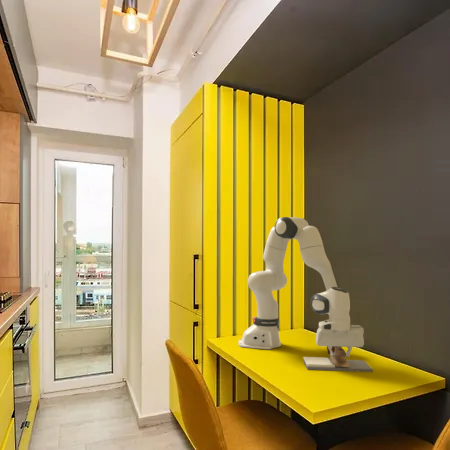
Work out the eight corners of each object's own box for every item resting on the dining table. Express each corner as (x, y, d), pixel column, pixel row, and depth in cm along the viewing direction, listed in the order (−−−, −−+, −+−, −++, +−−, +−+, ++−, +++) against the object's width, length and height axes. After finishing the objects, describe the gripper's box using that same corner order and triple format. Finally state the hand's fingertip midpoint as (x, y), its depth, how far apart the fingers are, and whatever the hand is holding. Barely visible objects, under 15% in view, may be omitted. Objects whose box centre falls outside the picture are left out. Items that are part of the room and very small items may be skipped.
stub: (335, 366, 151) (335, 352, 151) (330, 359, 161) (330, 345, 161) (350, 367, 150) (349, 352, 151) (343, 359, 160) (343, 346, 161)
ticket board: (307, 369, 151) (307, 364, 151) (303, 360, 163) (303, 355, 163) (372, 371, 149) (372, 366, 149) (363, 362, 161) (363, 357, 161)
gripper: (361, 323, 159) (361, 355, 158) (315, 322, 160) (315, 353, 160) (366, 326, 153) (366, 359, 152) (317, 325, 154) (317, 358, 153)
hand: (339, 356), depth 156 cm, fingers open, 5 cm apart
